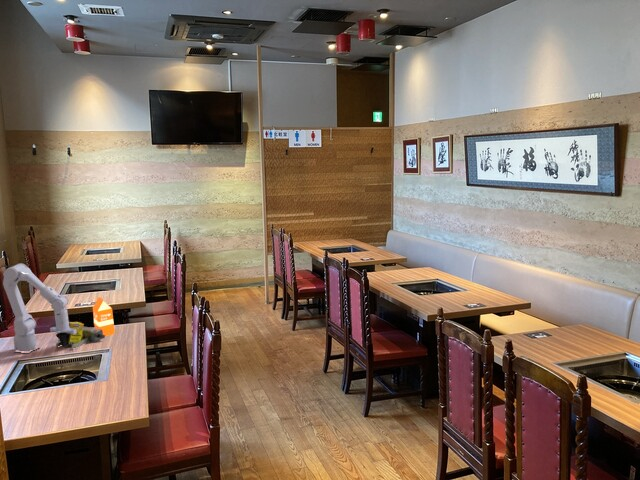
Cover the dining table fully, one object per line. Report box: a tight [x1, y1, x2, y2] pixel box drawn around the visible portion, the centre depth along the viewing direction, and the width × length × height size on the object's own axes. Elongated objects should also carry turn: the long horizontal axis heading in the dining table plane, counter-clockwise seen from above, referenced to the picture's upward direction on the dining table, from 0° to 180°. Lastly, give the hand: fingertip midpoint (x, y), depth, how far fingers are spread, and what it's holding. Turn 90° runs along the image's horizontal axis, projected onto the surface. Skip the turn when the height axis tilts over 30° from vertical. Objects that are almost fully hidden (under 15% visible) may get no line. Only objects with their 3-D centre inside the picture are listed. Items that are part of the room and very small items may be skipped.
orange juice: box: [92, 296, 115, 337], centre depth 269 cm, size 8×9×20 cm
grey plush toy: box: [55, 326, 106, 349], centre depth 258 cm, size 21×17×6 cm
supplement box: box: [68, 321, 85, 346], centre depth 255 cm, size 6×6×11 cm
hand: (65, 346), depth 251 cm, fingers closed
